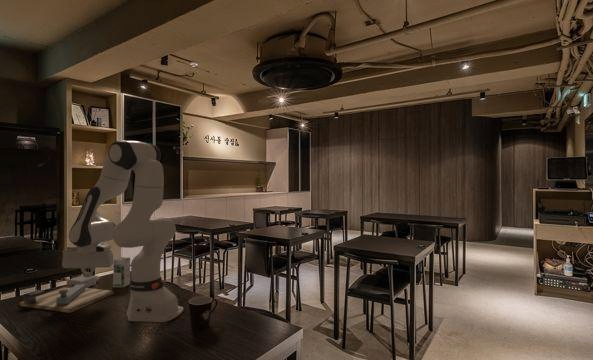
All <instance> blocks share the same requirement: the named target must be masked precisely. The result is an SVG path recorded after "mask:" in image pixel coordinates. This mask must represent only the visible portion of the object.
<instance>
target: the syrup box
mask: <svg viewBox="0 0 593 360" xmlns="http://www.w3.org/2000/svg"><path fill="white" fill-rule="evenodd" d="M112 271H113V272H112V273H113V276H112V277H113V278H112V279H113V280H112V282H113V283H112V287H113V288H119V289H120V288H121V289H123V288H126V287H127V286H130V285H129V284H130V279H131V256H128V257H127V256H119V257H118V256H117V257H115V258H113V270H112Z"/></svg>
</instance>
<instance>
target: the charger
mask: <svg viewBox="0 0 593 360" xmlns="http://www.w3.org/2000/svg"><path fill="white" fill-rule="evenodd" d="M100 279H101V276H98V275H92V277H84V274H82V275H79V276H77V277H76V276H75V277H73V278H70V279H67V280H66V286H75V285H82V284H86V288H90V287H94V286H96V285H97V281H99V280H100Z"/></svg>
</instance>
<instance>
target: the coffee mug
mask: <svg viewBox="0 0 593 360" xmlns="http://www.w3.org/2000/svg"><path fill="white" fill-rule="evenodd" d="M213 301H214V302H215V305H214V307H213V308H212V304H213ZM217 305H218V300H217V299H216V298H212V297H210V296H206V295H205V296H204V295H203V296H196V297H195V296H194V297H192V298H191V299H189V300H188V308H189V309H188V310H189V317H190V325H191V326H190V328H191V330H192V331H196V332H198V331H199V332H200V331H204V330H207V329H208V328H209V327H210V320H211V315H212V313H213V312H214V311H215V309H216V308H217Z"/></svg>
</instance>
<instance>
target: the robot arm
mask: <svg viewBox="0 0 593 360" xmlns="http://www.w3.org/2000/svg"><path fill="white" fill-rule="evenodd" d="M107 152H108V153H107V154H108V155H107V156H106V157H105V161H104V163H103V165H102V169H101V173H100V176H99V178H98V180H97V181H96V183H95V185H94V186H92V187H91V188H90V189H89V190H88V191H87V194H86V195H85V198H84V200H83V202H82V205H81V207H80V210H79V211H78V215H77V217H76V219H75V221H74V223H73V225H72V226H71V227H70V230H69V231H68V239H69V241H70V242H71V244H73V245H74V246H67V247H65V248H64V249H63V251H62V256H63V257H62V262H61V267H62V268H63V269H78V268H79V269H80V271H81V273H82V275H84V277H92V276H93V273H94V272H95V270H96V268H97V269H98V268H99V269H100V268H110V267H112V266H114V253H113V251H112V250H111V249H112V244H109V243H106V242H109V241H111V240H113V242H114V244H115V245H117V246H118V247H119V248H129V249H130V248H131V249H134V248H139V247H142V248H141V250H140V252H139V253H138V254H137V255H135V256H134V257H133V259H132V261H131V262H130V285H129V289H130V293H129V301H128V307H127V310H126V317H127V321H128V322H145V323H166V322H168V321H171V320H173V319H176V318H177V317H178V316H180V315H182V313H183V312H184V307H183V306H180V305H179V304H178V303H179V302H178V298H177V295H176V294H174V293H173V292H171V291H170V290H169V289H168V288H167V287H165V285H164V283H166V280H167V279H166V278H165V279H163V278H162V276H161V263H162V256H163V253H164V251H165V248H166V246H168V243H169V242H170V241H171V240H172V239H173V238H174V237H175V235H176V229H177V227H176V224H175V222H174V220H172V219H171V218H169V217H152V215H153V214H154V212H156V211H157V210H159V209H160V208H161V207H162V205H163V201H164V184H165V179H164V175H165V173H164V166H163V164H162V163H161V160H162V152H161V149H160V148H159V147H158V146H157V145H155V144H153V143H149V142H148V143H147V142H142V141H139V140H138V141H137V140H125V139H122V140H116V141H113V142H112V143H111V144H110V145H109V147H108V151H107ZM132 171H133V173H134V176H135V178H134V188H133V199H132V204H131V207H130V209H129V211H128V213H127V214H126V215H125V217H124V218H123V219H122V221H120V222H118V224H117V225H116V223H114V222H113V221H112V220H109V219H107V218H104V217H103V216H102V215H101V213H100V212H99V211H98V208H99V207H100V206H101V205H103V203H105V202H107V201H109V200H111V199H114V198H117V197H119V196H121V195H122V194H124V192H125V191H126V190H127V188H128V185H129V182H130V178H131V172H132ZM86 269H89V270H90V271H89V272H87V270H86Z"/></svg>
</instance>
